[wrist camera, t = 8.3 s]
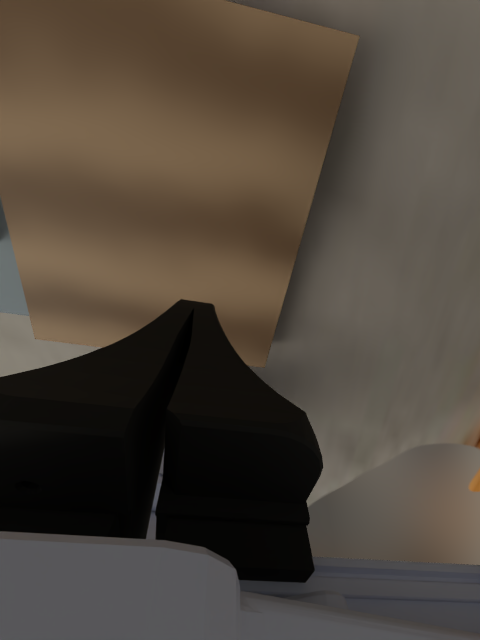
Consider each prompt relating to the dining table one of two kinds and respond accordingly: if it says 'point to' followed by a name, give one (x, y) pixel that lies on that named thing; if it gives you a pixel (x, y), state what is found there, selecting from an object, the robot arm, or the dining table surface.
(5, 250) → the mat
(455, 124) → the dining table surface
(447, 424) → the dining table surface
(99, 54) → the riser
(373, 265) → the dining table surface
